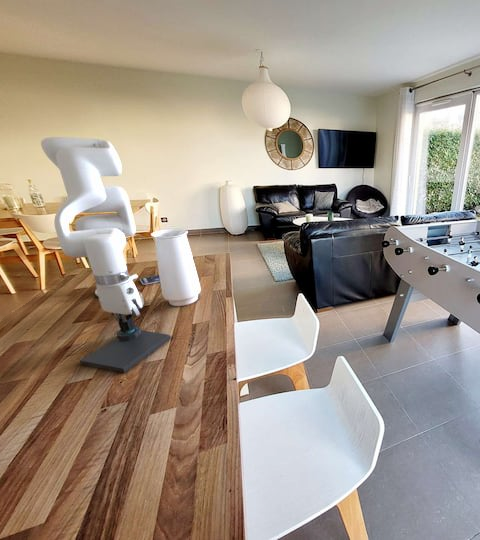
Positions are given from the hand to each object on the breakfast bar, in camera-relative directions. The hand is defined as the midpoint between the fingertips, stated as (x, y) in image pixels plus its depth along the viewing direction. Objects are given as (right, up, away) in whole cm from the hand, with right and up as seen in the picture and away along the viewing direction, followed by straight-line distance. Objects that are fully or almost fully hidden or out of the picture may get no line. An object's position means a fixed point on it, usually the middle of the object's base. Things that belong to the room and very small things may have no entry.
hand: (128, 330), depth 90 cm
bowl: (-14, +5, +19) cm, 24 cm away
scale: (+3, -5, -4) cm, 7 cm away
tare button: (0, -1, +1) cm, 2 cm away
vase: (+2, +7, +26) cm, 26 cm away
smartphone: (-19, +15, +43) cm, 49 cm away
